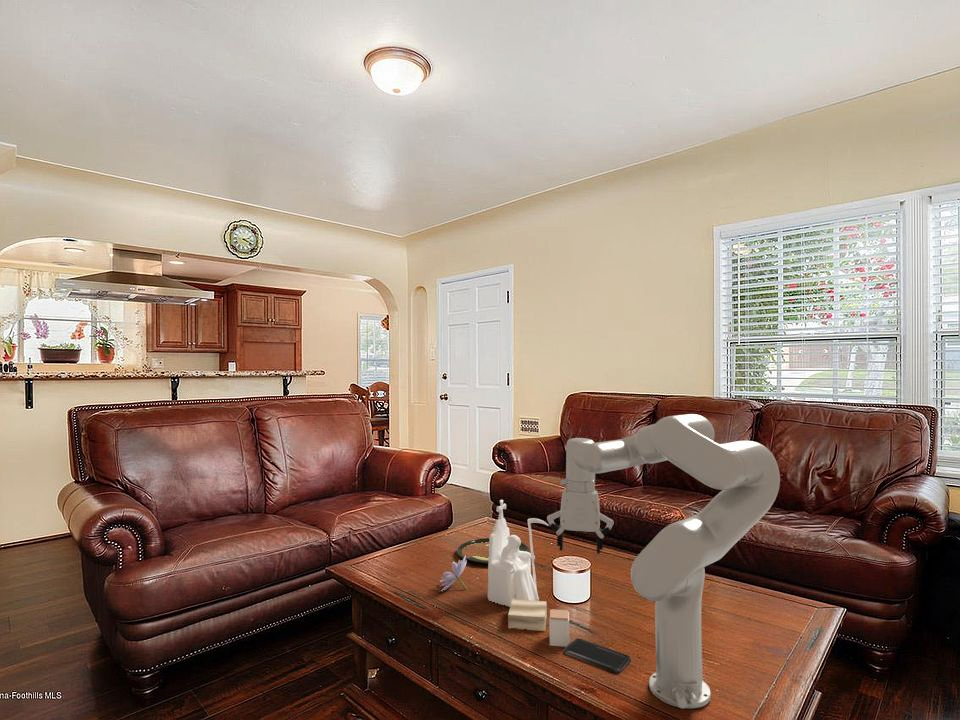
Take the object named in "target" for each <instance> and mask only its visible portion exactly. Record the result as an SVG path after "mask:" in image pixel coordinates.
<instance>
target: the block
mask: <svg viewBox="0 0 960 720" xmlns="http://www.w3.org/2000/svg"><path fill="white" fill-rule="evenodd" d="M547 605H548V604H547V601H546V600H545V601H544V600H539V601H532V600H515V599H512V602H511V606H510V607H509V611H508V613H507V623H508V625H507V626H508V627H507V628H508V629H511V628H517V629H516V630H524V629H527V631H539V632H540V631H541V632H546V625H547V616H548V615H547V614H548V610H547V609H548V608H547Z"/></svg>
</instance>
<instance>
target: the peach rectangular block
mask: <svg viewBox="0 0 960 720" xmlns="http://www.w3.org/2000/svg"><path fill="white" fill-rule="evenodd" d="M548 618H549V620H548V621H549V630H548V631H549V646H553V647H563V648H565V647H567V646H568V645H569V644H570V612H569V610H568V609H555V608H554V609H552V608H551V609H550V610H549V617H548Z"/></svg>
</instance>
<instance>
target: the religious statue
mask: <svg viewBox="0 0 960 720" xmlns="http://www.w3.org/2000/svg"><path fill="white" fill-rule="evenodd" d="M499 504H500V505H499V506H498V505H497V506H496V512H497V513H498V518H497V519H496V521H495V522H494V526H493V529H492V532H491V533H490V534H489V537H488V538H489V557H488V565H487V575H488V576H487V577H488V578H487V599H488V601H489V602H490V601H492V602H491V603H493V602H495V603H494V604H497V603H498V604H497V605H501V606H504V605H505V607H508V608H510V606H511V602H512V599H515V600H532V601H540V598H539V595H538V594H539V593H538V589H537V577H536V576H537V575H536V570H535V569H536V567H535V562H534V561H535V558H536V555H534V545H533V534H532V532H533V531H532V524H535V523H536V524H542V525H545V526H548V527H550V524H549V523H547V522H546V521H544V520H542V519H539V518H535V517H534V518H533V517H532V518H528V519H527V526H528V533H529V536H528V537H529V545H530V546H529V547H530V548H529V549H530V551H529V552H526V551H519V545H521V543H522V541H521V538H520V537H518V536H519V535H516V534H511V533H510V528H509V527H508V525H507V520H506V519H505V517H504V511H503V510H506V509H507V504H506V503H504V499H500V500H499ZM510 534H511V535H510ZM531 566H532V572H531Z"/></svg>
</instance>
